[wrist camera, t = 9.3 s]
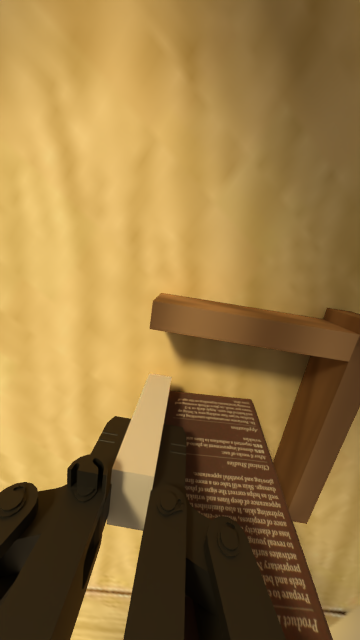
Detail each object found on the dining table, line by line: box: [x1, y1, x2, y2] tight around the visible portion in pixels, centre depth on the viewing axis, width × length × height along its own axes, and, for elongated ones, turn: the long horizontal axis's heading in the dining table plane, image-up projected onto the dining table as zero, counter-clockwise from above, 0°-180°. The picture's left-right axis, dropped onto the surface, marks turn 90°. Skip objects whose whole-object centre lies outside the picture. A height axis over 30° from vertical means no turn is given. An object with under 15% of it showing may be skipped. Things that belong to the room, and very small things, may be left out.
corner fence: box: [150, 293, 360, 524], centre depth 14 cm, size 12×14×3 cm
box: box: [164, 391, 333, 640], centre depth 10 cm, size 6×4×12 cm
